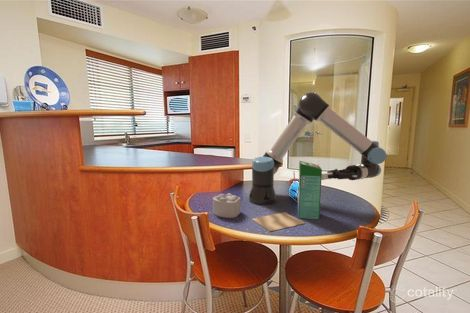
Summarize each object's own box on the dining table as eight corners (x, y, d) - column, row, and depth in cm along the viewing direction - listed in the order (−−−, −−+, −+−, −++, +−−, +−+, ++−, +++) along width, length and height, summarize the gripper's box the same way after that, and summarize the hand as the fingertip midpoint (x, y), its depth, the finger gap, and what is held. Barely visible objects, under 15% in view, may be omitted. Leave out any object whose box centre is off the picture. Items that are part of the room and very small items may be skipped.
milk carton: (319, 219, 109) (322, 164, 106) (298, 217, 111) (300, 163, 107) (316, 212, 118) (319, 160, 114) (297, 210, 120) (299, 160, 116)
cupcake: (285, 188, 159) (286, 170, 158) (296, 187, 163) (296, 169, 161) (293, 192, 152) (294, 173, 150) (304, 190, 155) (305, 171, 153)
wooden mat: (284, 212, 117) (284, 212, 117) (305, 223, 105) (305, 222, 105) (252, 219, 109) (252, 218, 109) (269, 231, 97) (269, 231, 97)
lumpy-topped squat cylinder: (234, 218, 110) (234, 200, 109) (208, 214, 115) (208, 196, 114) (242, 211, 120) (242, 193, 118) (218, 207, 124) (218, 191, 123)
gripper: (345, 163, 131) (311, 166, 120) (368, 167, 119) (333, 171, 109) (344, 176, 132) (311, 181, 121) (367, 182, 120) (332, 187, 110)
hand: (321, 176), depth 115 cm, fingers closed
